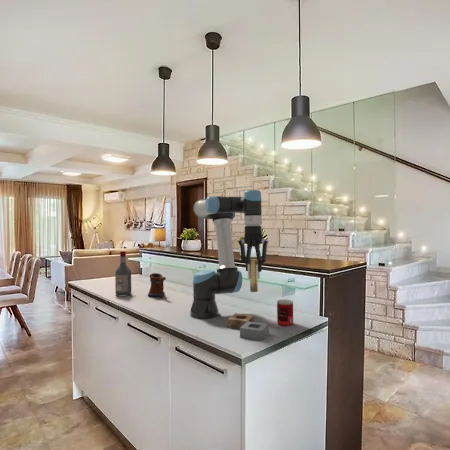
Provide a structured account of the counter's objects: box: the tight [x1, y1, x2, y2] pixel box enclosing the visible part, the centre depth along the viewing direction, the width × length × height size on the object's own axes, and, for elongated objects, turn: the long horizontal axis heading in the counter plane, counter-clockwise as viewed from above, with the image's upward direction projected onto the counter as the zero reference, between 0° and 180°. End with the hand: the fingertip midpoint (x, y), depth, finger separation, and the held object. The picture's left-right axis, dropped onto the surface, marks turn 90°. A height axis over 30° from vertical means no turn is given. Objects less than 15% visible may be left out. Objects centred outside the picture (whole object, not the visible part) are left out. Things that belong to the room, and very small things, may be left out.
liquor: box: [114, 250, 132, 296], centre depth 226 cm, size 9×9×30 cm
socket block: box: [239, 321, 270, 341], centre depth 143 cm, size 10×10×4 cm
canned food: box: [276, 299, 294, 327], centre depth 158 cm, size 8×8×11 cm
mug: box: [147, 272, 167, 299], centre depth 218 cm, size 18×12×15 cm, turn 37°
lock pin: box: [249, 258, 259, 293], centre depth 143 cm, size 3×3×14 cm
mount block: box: [227, 312, 256, 330], centre depth 156 cm, size 10×10×4 cm
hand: (253, 278), depth 143 cm, fingers closed on lock pin, 3 cm apart
